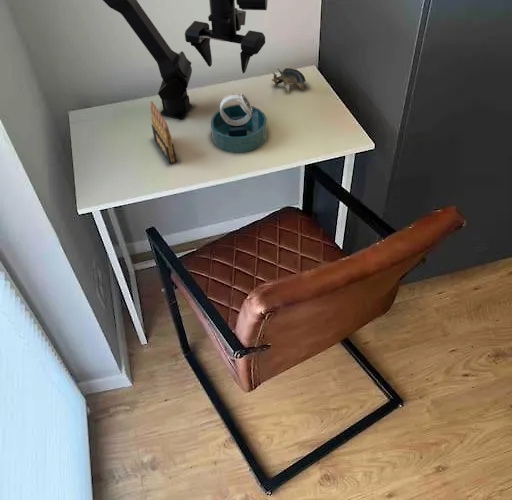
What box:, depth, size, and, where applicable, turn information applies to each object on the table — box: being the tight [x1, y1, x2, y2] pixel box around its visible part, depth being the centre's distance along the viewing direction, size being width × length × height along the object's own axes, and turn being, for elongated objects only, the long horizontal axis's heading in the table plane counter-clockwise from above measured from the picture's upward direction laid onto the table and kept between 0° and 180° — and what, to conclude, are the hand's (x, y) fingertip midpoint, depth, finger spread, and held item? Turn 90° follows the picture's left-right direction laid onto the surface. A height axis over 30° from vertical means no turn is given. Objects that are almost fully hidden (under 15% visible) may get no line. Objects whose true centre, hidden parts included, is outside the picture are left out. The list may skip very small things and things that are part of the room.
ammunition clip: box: [149, 100, 178, 165], centre depth 139 cm, size 11×2×12 cm, turn 27°
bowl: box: [210, 103, 268, 154], centre depth 145 cm, size 14×14×4 cm
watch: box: [219, 93, 253, 137], centre depth 142 cm, size 6×8×11 cm
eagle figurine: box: [271, 66, 308, 93], centre depth 158 cm, size 8×7×9 cm
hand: (227, 69), depth 144 cm, fingers open, 9 cm apart
